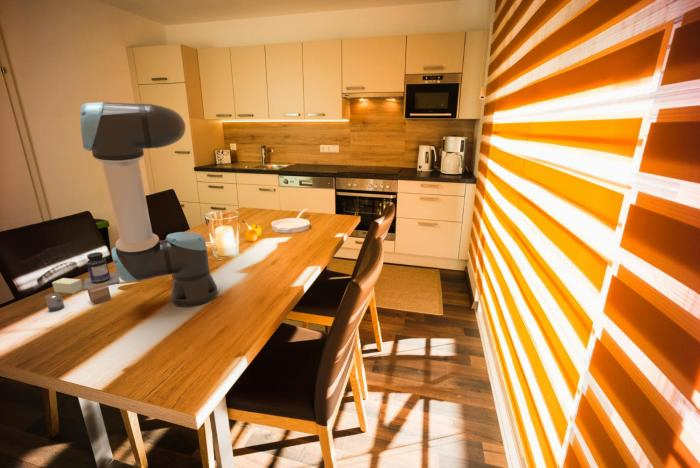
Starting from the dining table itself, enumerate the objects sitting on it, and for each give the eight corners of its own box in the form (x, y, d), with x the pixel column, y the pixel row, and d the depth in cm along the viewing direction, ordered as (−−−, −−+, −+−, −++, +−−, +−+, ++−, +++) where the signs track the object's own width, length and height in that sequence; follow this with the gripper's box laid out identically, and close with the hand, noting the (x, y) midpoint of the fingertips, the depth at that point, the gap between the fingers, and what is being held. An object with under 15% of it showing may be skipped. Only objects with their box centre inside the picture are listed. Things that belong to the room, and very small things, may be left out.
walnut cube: (111, 299, 118) (108, 287, 116) (94, 305, 114) (91, 292, 112) (107, 295, 121) (103, 282, 119) (90, 300, 117) (86, 287, 116)
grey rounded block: (63, 309, 111) (60, 296, 110) (48, 313, 109) (43, 299, 108) (65, 304, 114) (61, 291, 113) (50, 308, 112) (45, 294, 111)
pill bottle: (93, 279, 132) (86, 253, 129) (111, 276, 135) (105, 250, 132) (90, 285, 127) (83, 258, 124) (109, 281, 130) (103, 255, 127)
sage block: (83, 289, 126) (80, 279, 125) (73, 294, 122) (70, 284, 121) (65, 287, 127) (62, 278, 126) (54, 292, 123) (52, 282, 122)
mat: (119, 283, 130) (118, 281, 130) (83, 290, 124) (83, 289, 124) (118, 273, 139) (118, 272, 139) (85, 280, 133) (85, 278, 133)
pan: (262, 233, 192) (261, 224, 191) (289, 215, 232) (289, 207, 231) (303, 236, 188) (302, 226, 186) (323, 217, 228) (323, 209, 226)
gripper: (137, 149, 122) (147, 206, 128) (133, 147, 142) (143, 196, 148) (112, 150, 118) (124, 209, 124) (112, 147, 138) (122, 198, 144)
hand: (134, 202), depth 136 cm, fingers open, 13 cm apart
